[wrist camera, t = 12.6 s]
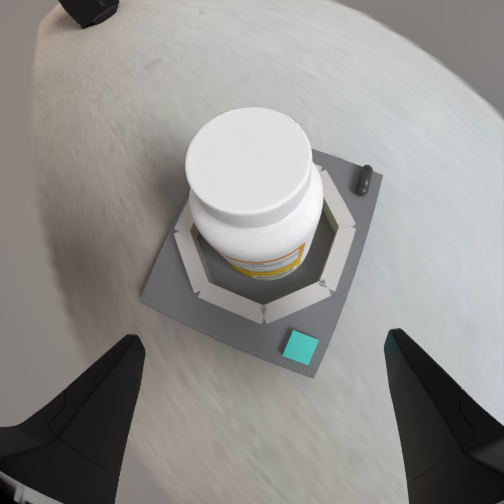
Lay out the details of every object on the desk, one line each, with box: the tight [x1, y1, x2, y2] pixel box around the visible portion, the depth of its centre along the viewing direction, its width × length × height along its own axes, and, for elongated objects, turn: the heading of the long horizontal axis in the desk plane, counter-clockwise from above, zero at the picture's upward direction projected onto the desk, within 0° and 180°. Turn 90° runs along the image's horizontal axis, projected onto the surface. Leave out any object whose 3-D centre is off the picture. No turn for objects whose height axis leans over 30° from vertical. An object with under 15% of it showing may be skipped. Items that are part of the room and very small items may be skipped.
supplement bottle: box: [185, 107, 324, 281], centre depth 13 cm, size 5×5×10 cm
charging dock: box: [140, 149, 383, 379], centre depth 18 cm, size 14×12×2 cm
